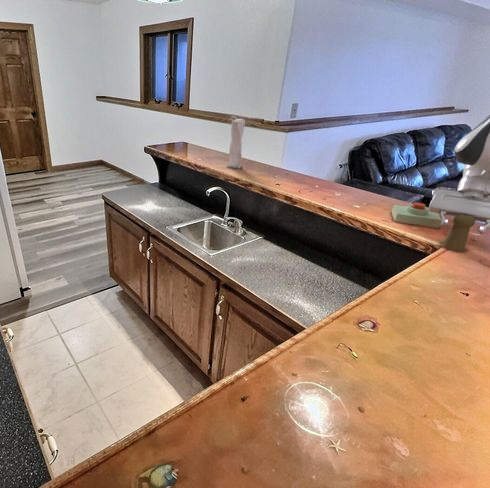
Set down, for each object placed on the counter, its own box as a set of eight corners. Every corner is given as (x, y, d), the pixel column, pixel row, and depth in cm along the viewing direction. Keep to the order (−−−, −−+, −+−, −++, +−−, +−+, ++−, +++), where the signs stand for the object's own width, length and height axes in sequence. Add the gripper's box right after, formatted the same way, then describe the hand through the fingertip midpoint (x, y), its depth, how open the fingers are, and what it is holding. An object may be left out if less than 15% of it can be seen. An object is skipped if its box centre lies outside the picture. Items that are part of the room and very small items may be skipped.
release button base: (432, 218, 136) (437, 206, 134) (438, 228, 127) (443, 215, 125) (391, 212, 141) (395, 200, 139) (394, 221, 133) (398, 209, 130)
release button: (423, 207, 133) (424, 203, 132) (425, 211, 130) (426, 206, 129) (410, 206, 135) (412, 201, 134) (412, 209, 131) (414, 205, 131)
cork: (446, 250, 112) (460, 218, 107) (438, 242, 117) (450, 211, 112) (468, 252, 110) (483, 220, 105) (458, 244, 116) (472, 213, 111)
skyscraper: (225, 167, 203) (230, 116, 191) (227, 164, 210) (232, 115, 198) (240, 168, 201) (245, 117, 188) (241, 165, 208) (247, 115, 195)
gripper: (436, 180, 116) (424, 216, 113) (519, 193, 105) (507, 233, 102) (433, 190, 121) (420, 225, 119) (511, 203, 110) (499, 241, 107)
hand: (461, 229), depth 110 cm, fingers open, 8 cm apart
